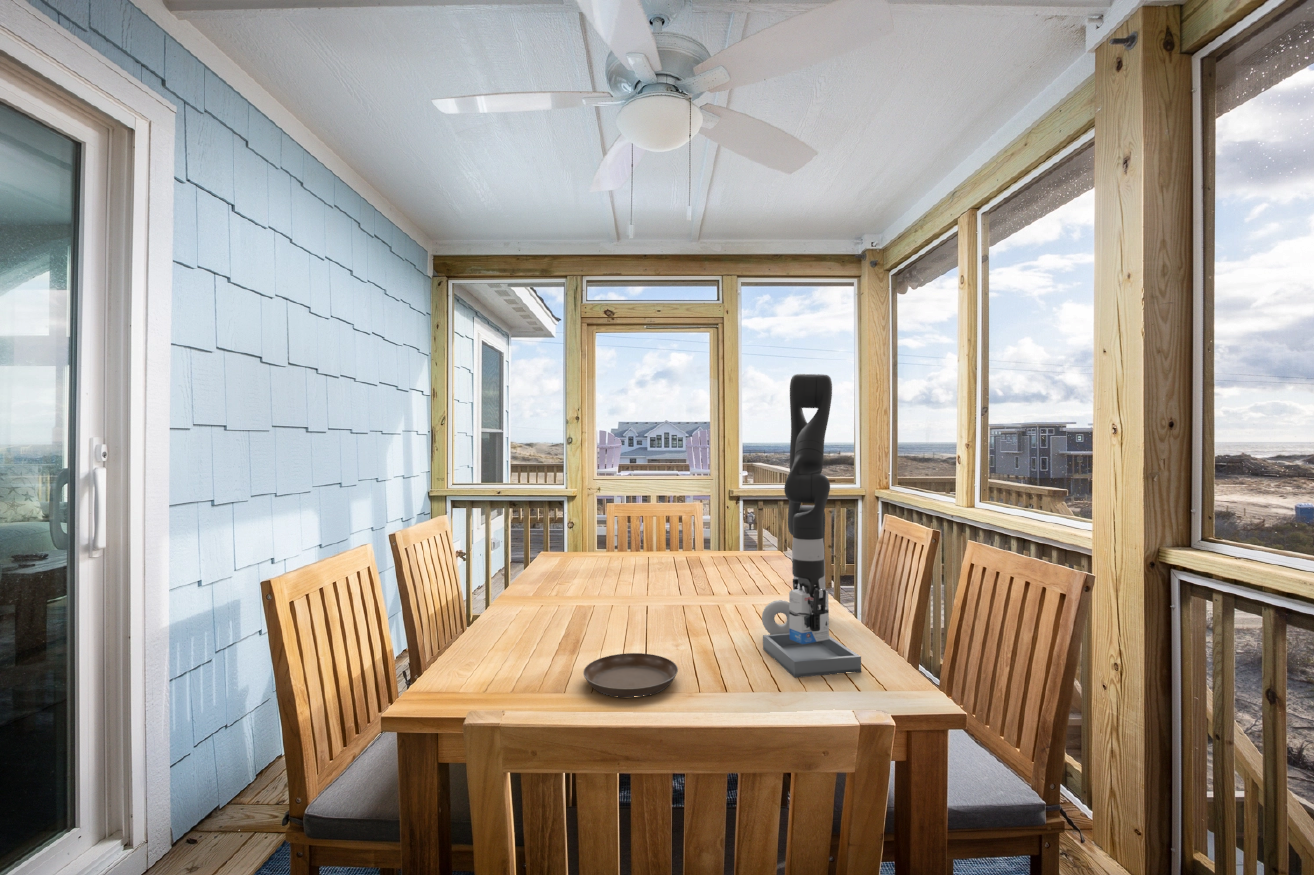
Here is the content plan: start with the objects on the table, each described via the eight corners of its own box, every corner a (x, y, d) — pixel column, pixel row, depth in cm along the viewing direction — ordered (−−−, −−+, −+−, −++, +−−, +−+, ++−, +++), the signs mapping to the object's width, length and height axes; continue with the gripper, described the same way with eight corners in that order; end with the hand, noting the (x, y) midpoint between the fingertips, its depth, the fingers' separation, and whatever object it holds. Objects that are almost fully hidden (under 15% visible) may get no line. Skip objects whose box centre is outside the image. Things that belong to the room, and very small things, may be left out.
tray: (763, 648, 159) (762, 635, 159) (822, 644, 162) (821, 630, 162) (794, 677, 139) (794, 661, 139) (861, 672, 142) (861, 656, 142)
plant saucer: (644, 711, 123) (644, 694, 123) (563, 690, 134) (563, 674, 134) (694, 677, 141) (694, 662, 141) (619, 661, 151) (619, 647, 152)
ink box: (802, 645, 146) (801, 594, 146) (788, 639, 151) (787, 590, 151) (830, 639, 150) (829, 590, 150) (816, 634, 154) (815, 586, 155)
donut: (762, 638, 167) (761, 601, 167) (761, 634, 171) (761, 598, 171) (800, 640, 166) (799, 602, 166) (799, 636, 169) (799, 599, 169)
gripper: (836, 561, 144) (837, 634, 144) (810, 551, 158) (810, 618, 158) (806, 562, 143) (807, 636, 143) (781, 552, 157) (782, 619, 157)
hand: (809, 626), depth 150 cm, fingers closed on ink box, 5 cm apart
